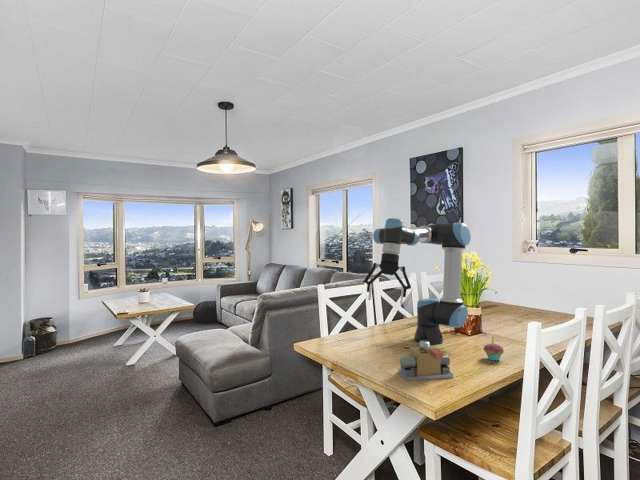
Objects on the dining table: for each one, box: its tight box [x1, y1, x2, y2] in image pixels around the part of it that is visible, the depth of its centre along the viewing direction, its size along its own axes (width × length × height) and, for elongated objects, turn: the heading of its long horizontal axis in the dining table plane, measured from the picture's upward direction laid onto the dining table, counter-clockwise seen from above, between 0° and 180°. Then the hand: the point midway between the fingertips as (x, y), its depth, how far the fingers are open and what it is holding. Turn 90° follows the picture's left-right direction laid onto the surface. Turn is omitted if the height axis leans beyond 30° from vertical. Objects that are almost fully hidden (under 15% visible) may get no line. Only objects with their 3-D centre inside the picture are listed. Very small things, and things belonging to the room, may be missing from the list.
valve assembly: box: [397, 346, 454, 382], centre depth 152 cm, size 20×10×11 cm, turn 98°
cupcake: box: [483, 334, 505, 362], centre depth 169 cm, size 9×8×12 cm
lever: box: [419, 341, 444, 359], centre depth 146 cm, size 16×4×3 cm, turn 8°
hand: (385, 302), depth 156 cm, fingers open, 13 cm apart
